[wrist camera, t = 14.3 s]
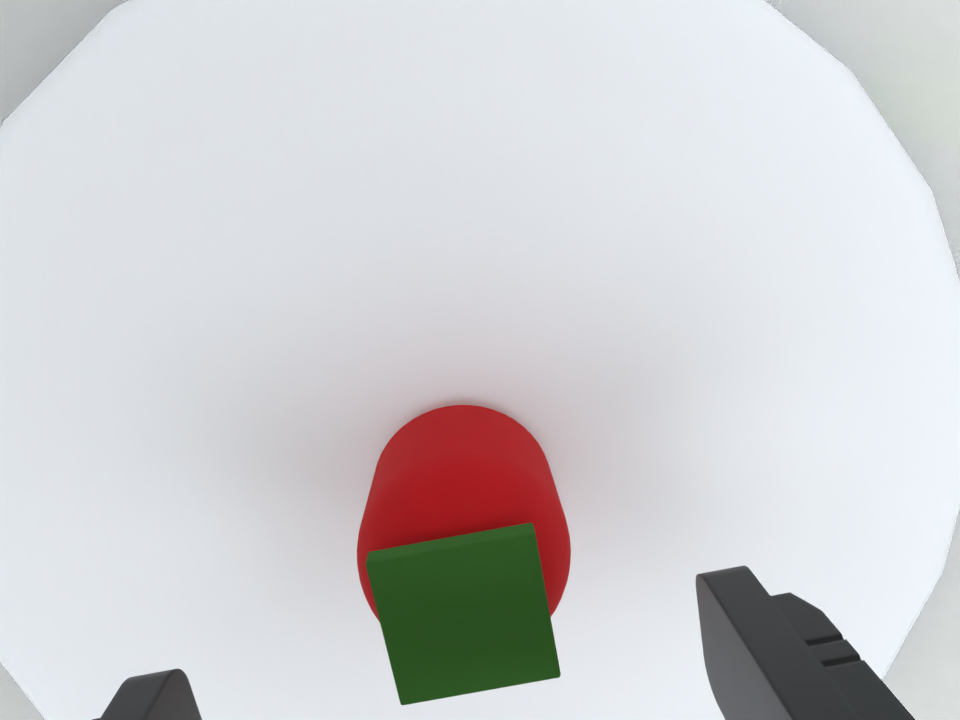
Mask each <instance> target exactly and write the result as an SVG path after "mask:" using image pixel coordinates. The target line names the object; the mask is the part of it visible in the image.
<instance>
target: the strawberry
mask: <svg viewBox="0 0 960 720" xmlns="http://www.w3.org/2000/svg"><path fill="white" fill-rule="evenodd" d="M570 559H571V544H570V535H569V530H568V526H567V522H566V518H565V514H564V511H563V508H562V505H561V502H560V499H559V495H558V492H557V489H556V486H555V483H554V480H553V476H552V473H551V470H550V467H549V464H548V461H547V459H546V456H545V454H544V452H543V450H542V448H541V447H540V445H539V443H538V442H537V441H536V439H535V438H534V437H533V435H532V434H531V433H530V432H529V431H528V430H527V429H526V428H525V427H524V426H522V425H521V424H520V423H518V422H517V421H516V420H514V419H512V418H511V417H509V416H507V415H505V414H503V413H501V412H498V411H496V410H493V409H489V408H485V407H481V406H474V405H453V406H445V407H441V408H437V409H434V410H431V411H428V412H426V413H423V414H421V415H419V416H418V417H416V418H414V419H412V420H411V421H409V422H408V423H407V424H405V425H404V426H403V427H402V428H401V429H399V430H398V431H397V432H396V433H395V434H394V435H393V437H392V438H391V439H390V440H389V442H388V443H387V445H386V446H385V448H384V450H383V451H382V453H381V455H380V458H379V460H378V462H377V466H376V469H375V473H374V477H373V481H372V484H371V488H370V492H369V495H368V499H367V503H366V507H365V510H364V514H363V518H362V521H361V525H360V529H359V535H358V543H357V566H358V573H359V579H360V583H361V586H362V589H363V592H364V595H365V598H366V600H367V602H368V604H369V606H370V608H371V610H372V612H373V613H374V615H375V616H376V618H377V619H378V621H379V622H380V625H381V629H382V633H383V637H384V641H385V645H386V649H387V653H388V656H389V660H390V664H391V668H392V672H393V676H394V680H395V684H396V688H397V692H398V696H399V700H400V703H401V705H408V704H414V703H419V702H425V701H431V700H436V699H442V698H447V697H453V696H459V695H464V694H470V693H475V692H481V691H487V690H492V689H498V688H503V687H509V686H515V685H520V684H526V683H532V682H537V681H543V680H548V679H554V678H559V677H560V675H561V672H560V667H559V661H558V656H557V650H556V645H555V639H554V634H553V628H552V622H551V616H552V615H553V613H554V612H555V610H556V608H557V606H558V604H559V602H560V601H561V598H562V595H563V593H564V590H565V587H566V584H567V581H568V576H569V571H570Z"/></svg>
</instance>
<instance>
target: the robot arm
mask: <svg viewBox="0 0 960 720" xmlns="http://www.w3.org/2000/svg"><path fill="white" fill-rule="evenodd" d="M696 594H697V602H698V611H699V620H700V629H701V637H702V646H703V655H704V662H705V667H706V672H707V676H708V679H709V683H710V686H711V689H712V692H713V695H714V697H715V700H716V702H717V704H718V706H719V708H720V710H721V712H722V714H723V716H724V718H725V720H915V719H914V718H913V717H912V716H911V714H910V713H909V712H908V711H907V710H906V709H905V707H904V706H903V705H902V704H901V703H900V702H899V700H898V699H897V698H896V697H895V696H894V695H893V693H892V692H891V691H890V690H889V689H888V688H887V686H886V685H885V684H884V683H883V682H882V680H881V679H880V678H879V677H878V676H877V675H876V673H875V672H874V671H873V670H872V669H871V668H870V666H869V665H868V664H867V663H866V662H865V661H864V660H861V658H860V655H859V654H858V652H857V651H856V650H855V649H854V648H853V647H852V645H851V644H850V643H849V642H848V641H847V639H845V640H844V639H843V636H842V634H841V632H840V631H839V630H838V629H837V628H836V627H835V625H834V624H833V623H832V622H831V621H830V620H829V618H828V617H827V616H826V615H825V614H824V613H823V611H822V610H820V609H818V608H817V607H815V606H813V605H812V604H810V603H808V602H806V601H805V600H803V599H801V598H799V597H798V596H796V595H794V594H792V593H791V592H789V593H784V594H778V595H773V596H770V595H769V594H768V592H767V591H766V590H765V588H764V587H763V586H762V584H761V583H760V582H759V580H758V579H757V578H756V577H755V575H754V574H753V573H752V571H751V570H750V569H749V568H748V567H747V566H745V565H744V566H738V567H733V568H727V569H722V570H716V571H711V572H706V573H700V574H697V575H696ZM92 720H202V718H201V715H200V712H199V709H198V706H197V704H196V701H195V698H194V695H193V692H192V689H191V686H190V683H189V680H188V678H187V676H186V674H185V673H184V672H183V671H182V670H181V669H172V670H166V671H161V672H156V673H150V674H145V675H139V676H134V677H129V678H127V679H126V680H125V681H124V682H123V683H122V685H121V686H120V688H119V689H118V691H117V692H116V694H115V696H114V697H113V699H112V700H111V702H110V703H109V705H108V707H107V708H106V710H105V711H104V713H103V714H102V716H101V718H97V719H92Z"/></svg>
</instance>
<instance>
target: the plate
mask: <svg viewBox="0 0 960 720" xmlns="http://www.w3.org/2000/svg"><path fill="white" fill-rule="evenodd" d="M453 405H474V406H481V407H485V408H489V409H493V410H496V411H498V412H501V413H503V414H505V415H507V416H509V417H511V418H512V419H514V420H516V421H517V422H518V423H520V424H521V425H522V426H524V427H525V428H526V429H527V430H528V431H529V432H530V433H531V434H532V435H533V437H534V438H535V439H536V441H537V442H538V443H539V445H540V447H541V448H542V450H543V452H544V454H545V456H546V459H547V461H548V464H549V467H550V470H551V473H552V476H553V480H554V483H555V486H556V489H557V492H558V495H559V499H560V502H561V505H562V508H563V511H564V514H565V518H566V522H567V526H568V530H569V535H570V544H571V559H570V571H569V576H568V581H567V584H566V587H565V590H564V593H563V595H562V598H561V601H560V602H559V604H558V606H557V608H556V610H555V612H554V613H553V615H552V616H551V622H552V628H553V634H554V639H555V645H556V650H557V656H558V661H559V667H560V672H561V675H560V677H559V678H554V679H548V680H543V681H537V682H532V683H526V684H520V685H515V686H509V687H503V688H498V689H492V690H487V691H481V692H475V693H470V694H464V695H459V696H453V697H447V698H442V699H436V700H431V701H425V702H419V703H414V704H408V705H401V703H400V700H399V696H398V692H397V688H396V684H395V680H394V676H393V672H392V668H391V664H390V660H389V656H388V653H387V649H386V645H385V641H384V637H383V633H382V629H381V625H380V622H379V621H378V619H377V618H376V616H375V615H374V613H373V612H372V610H371V608H370V606H369V604H368V602H367V600H366V598H365V595H364V592H363V589H362V586H361V583H360V579H359V573H358V566H357V543H358V535H359V529H360V525H361V521H362V518H363V514H364V510H365V507H366V503H367V499H368V495H369V492H370V488H371V484H372V481H373V477H374V473H375V469H376V466H377V462H378V460H379V458H380V455H381V453H382V451H383V450H384V448H385V446H386V445H387V443H388V442H389V440H390V439H391V438H392V437H393V435H394V434H395V433H396V432H397V431H398V430H399V429H401V428H402V427H403V426H404V425H405V424H407V423H408V422H409V421H411V420H412V419H414V418H416V417H418V416H419V415H421V414H423V413H426V412H428V411H431V410H434V409H437V408H441V407H445V406H453ZM959 509H960V280H959V276H958V273H957V270H956V267H955V264H954V260H953V257H952V254H951V251H950V247H949V244H948V241H947V238H946V234H945V231H944V228H943V225H942V221H941V218H940V215H939V212H938V208H937V205H936V202H935V199H934V195H933V192H932V190H931V189H930V187H929V186H928V184H927V183H926V181H925V180H924V178H923V177H922V175H921V174H920V172H919V171H918V169H917V168H916V166H915V165H914V163H913V162H912V160H911V159H910V158H909V156H908V155H907V153H906V152H905V150H904V149H903V147H902V146H901V144H900V143H899V141H898V140H897V138H896V137H895V135H894V134H893V132H892V131H891V129H890V128H889V126H888V125H887V123H886V122H885V120H884V119H883V117H882V116H881V114H880V113H879V111H878V110H877V108H876V107H875V105H874V104H873V102H872V101H871V100H870V98H869V97H868V95H867V94H866V92H865V91H864V89H863V88H862V86H861V85H860V83H859V82H858V80H857V79H856V77H855V76H854V74H853V73H852V71H851V70H849V69H848V68H847V67H846V66H845V65H843V64H842V63H841V62H840V61H838V60H837V59H836V58H835V57H834V56H832V55H831V54H830V53H829V52H827V51H826V50H825V49H824V48H822V47H821V46H820V45H819V44H818V43H816V42H815V41H814V40H813V39H811V38H810V37H809V36H808V35H806V34H805V33H804V32H803V31H802V30H800V29H799V28H798V27H797V26H795V25H794V24H793V23H792V22H790V21H789V20H788V19H787V18H786V17H784V16H783V15H782V14H781V13H779V12H778V11H777V10H776V9H775V8H773V7H772V6H771V5H770V4H768V3H767V2H766V1H765V0H128V1H126V2H124V3H123V4H121V5H119V6H117V7H115V8H113V9H112V10H111V11H110V12H109V13H108V14H107V15H106V16H105V17H104V18H103V19H102V20H101V21H100V22H99V23H98V24H97V25H96V26H95V27H94V28H93V29H92V30H91V31H90V32H89V33H88V34H87V35H86V37H85V38H84V39H83V40H82V41H81V42H80V43H79V44H78V45H77V46H76V47H75V48H74V49H73V50H72V51H71V52H70V53H69V54H68V55H67V56H66V57H65V58H64V59H63V60H62V61H61V62H60V64H59V65H58V66H57V67H56V68H55V69H54V70H53V71H52V72H51V73H50V74H49V75H48V76H47V77H46V78H45V79H44V80H43V81H42V82H41V83H40V84H39V85H38V86H37V87H36V88H35V89H34V91H33V92H32V93H31V94H30V95H29V96H28V97H27V98H26V99H25V100H24V101H23V102H22V103H21V104H20V105H19V106H18V107H17V108H16V109H15V110H14V111H13V112H12V113H11V114H10V115H9V116H8V118H7V119H6V120H5V121H4V122H3V124H2V126H1V128H0V662H1V664H2V665H3V666H4V667H5V669H6V670H7V671H8V673H9V674H10V675H11V676H12V678H13V679H14V680H15V682H16V683H17V684H18V685H19V687H20V688H21V689H22V690H23V692H24V693H25V694H26V696H27V697H28V698H29V699H30V701H31V702H32V703H33V705H34V706H35V707H36V708H37V710H38V711H39V712H40V714H41V715H42V716H43V717H44V719H45V720H92V719H97V718H101V716H102V714H103V713H104V711H105V710H106V708H107V707H108V705H109V703H110V702H111V700H112V699H113V697H114V696H115V694H116V692H117V691H118V689H119V688H120V686H121V685H122V683H123V682H124V681H125V680H126V679H127V678H129V677H134V676H139V675H145V674H150V673H156V672H161V671H166V670H172V669H181V670H182V671H183V672H184V673H185V674H186V676H187V678H188V680H189V683H190V686H191V689H192V692H193V695H194V698H195V701H196V704H197V706H198V709H199V712H200V715H201V718H202V720H725V718H724V716H723V714H722V712H721V710H720V708H719V706H718V704H717V702H716V700H715V697H714V695H713V692H712V689H711V686H710V683H709V679H708V676H707V672H706V667H705V662H704V655H703V646H702V637H701V629H700V620H699V611H698V602H697V594H696V575H697V574H700V573H706V572H711V571H716V570H722V569H727V568H733V567H738V566H744V565H745V566H747V567H748V568H749V569H750V570H751V571H752V573H753V574H754V575H755V577H756V578H757V579H758V580H759V582H760V583H761V584H762V586H763V587H764V588H765V590H766V591H767V592H768V594H769V595H770V596H773V595H778V594H784V593H789V592H791V593H792V594H794V595H796V596H798V597H799V598H801V599H803V600H805V601H806V602H808V603H810V604H812V605H813V606H815V607H817V608H818V609H820V610H822V611H823V613H824V614H825V615H826V616H827V617H828V618H829V620H830V621H831V622H832V623H833V624H834V625H835V627H836V628H837V629H838V630H839V631H840V632H841V634H842V636H843V639H844V640H845V639H847V641H848V642H849V643H850V644H851V645H852V647H853V648H854V649H855V650H856V651H857V652H858V654H859V655H860V658H861V660H864V661H865V662H866V663H867V664H868V665H869V666H870V668H871V669H872V670H873V671H874V672H875V673H876V675H877V676H878V677H879V678H880V679H881V680H882V679H883V678H884V676H885V675H886V673H887V671H888V669H889V667H890V666H891V664H892V662H893V660H894V659H895V657H896V655H897V653H898V651H899V650H900V648H901V646H902V644H903V642H904V641H905V639H906V637H907V635H908V633H909V632H910V630H911V628H912V626H913V624H914V623H915V621H916V619H917V617H918V616H919V614H920V612H921V610H922V608H923V607H924V605H925V603H926V601H927V599H928V598H929V596H930V594H931V592H932V590H933V589H934V587H935V585H936V583H937V582H938V580H939V578H940V576H941V574H942V573H943V570H944V566H945V562H946V559H947V555H948V551H949V547H950V543H951V539H952V536H953V532H954V528H955V524H956V520H957V516H958V513H959Z"/></svg>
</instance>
